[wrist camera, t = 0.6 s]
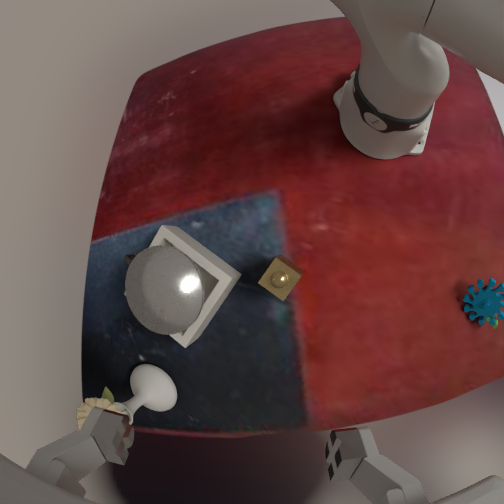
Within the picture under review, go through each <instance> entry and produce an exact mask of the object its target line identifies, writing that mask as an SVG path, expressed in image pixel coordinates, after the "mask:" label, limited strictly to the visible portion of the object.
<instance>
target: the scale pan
mask: <svg viewBox="0 0 504 504" xmlns="http://www.w3.org/2000/svg"><path fill="white" fill-rule="evenodd" d="M124 259H125V262H126V263H127V264H128V265H129V268H128V271H127V274H126V279H125V292H126V297H127V301H128V304H129V307H130V309H131V311H132V312H133V314H134V316H135V317H136V318H137V320H138V321H139V322H140V323H141V324H142V325H144V326H145V327H146V328H148V329H149V330H151V331H153V332H156V333H159V334H165V335H171V334H176V333H179V332H182V331H184V330H185V329H187V328H188V327H190V326H191V325H192V324H193V323H194V322H195V321H196V320H197V318H198V317H199V315H200V313H201V311H202V308H203V304H204V297H205V290H204V283H203V279H202V276H201V274H200V271H199V269H198V267H197V266H196V264H195V263H194V262H193V260H192V259H191V258H190V257H189V256H188V255H187V254H185V253H184V252H182V251H181V250H179V249H177V248H174V247H171V246H152V247H149V248H146V249H144V250H143V251H141V252H140V253H139V254H137V253H135V254H133V255H126V256H125V258H124Z"/></svg>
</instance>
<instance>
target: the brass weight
mask: <svg viewBox="0 0 504 504" xmlns="http://www.w3.org/2000/svg"><path fill="white" fill-rule="evenodd" d="M302 274H303V270H302V269H301V268H299V267H298V266H296V265H295V264H294V263H292V262H291V261H289V260H288V259H287V258H285V257H284V256H282V255H281V256H278V257H276V258H275V259H274V261H273V262H272V263H271V265H270V266H269V268H268V269H267V271H266V272H265V273H264V275H263V276H262V278H261V279H260V281H259V282H258V283H259V284H260V285H261V286H263V287H264V288H266V289H267V290H268V291H270V292H271V293H273V294H274V295H275V296H277V297H278V298H280V299H281V300H282V301H284V299H285V298H286V297H287V295H288V294H289V293H290V291H291V290H292V288H293V287H294V286H295V284H296V283H297V282H298V280H299V279H300V277H301V276H302Z"/></svg>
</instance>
